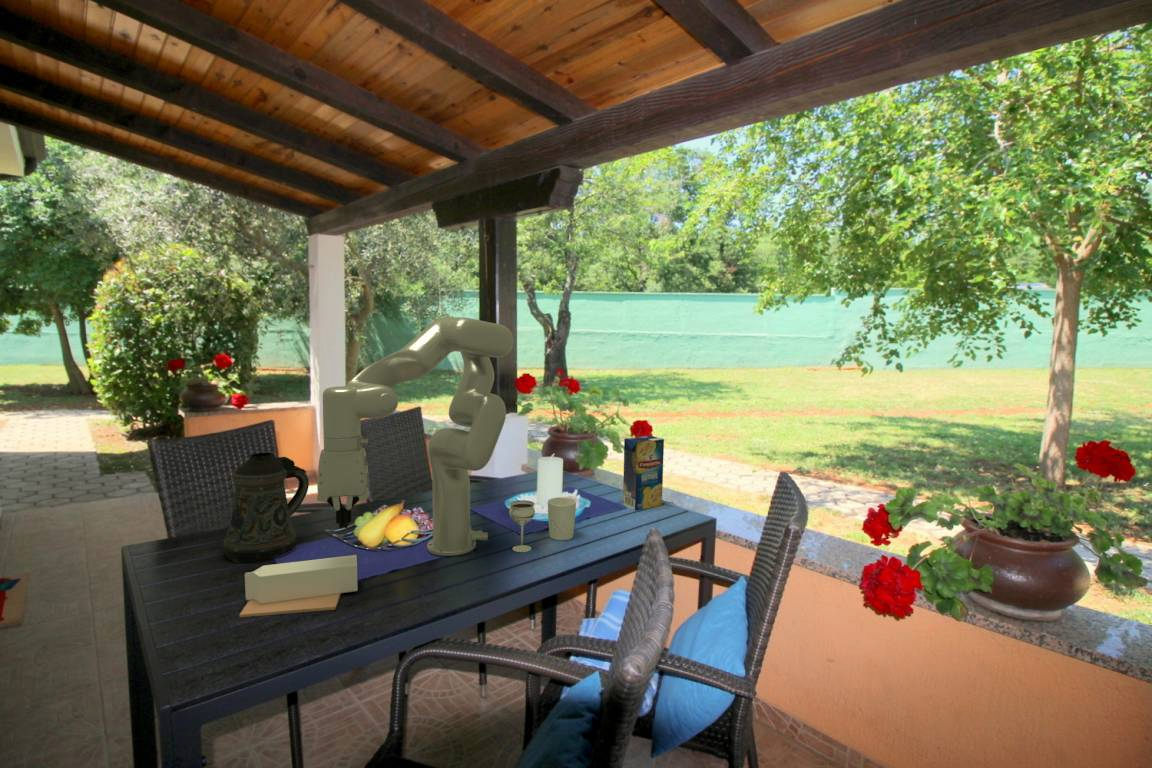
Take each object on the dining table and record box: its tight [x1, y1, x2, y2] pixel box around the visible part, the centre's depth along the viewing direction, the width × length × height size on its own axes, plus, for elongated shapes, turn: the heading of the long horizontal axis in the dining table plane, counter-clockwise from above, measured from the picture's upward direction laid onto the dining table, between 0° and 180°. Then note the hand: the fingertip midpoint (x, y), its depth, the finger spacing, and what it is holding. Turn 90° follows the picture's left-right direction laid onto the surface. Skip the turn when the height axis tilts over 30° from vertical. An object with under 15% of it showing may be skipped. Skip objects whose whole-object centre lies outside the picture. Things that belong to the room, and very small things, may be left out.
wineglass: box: [508, 499, 536, 553], centre depth 158 cm, size 7×7×12 cm
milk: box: [244, 554, 359, 604], centre depth 130 cm, size 6×6×22 cm
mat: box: [238, 593, 342, 618], centre depth 132 cm, size 18×20×1 cm
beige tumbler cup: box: [547, 496, 577, 541], centre depth 167 cm, size 8×8×10 cm
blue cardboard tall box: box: [622, 435, 665, 511], centre depth 196 cm, size 7×11×22 cm, turn 122°
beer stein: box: [223, 452, 310, 563], centre depth 155 cm, size 16×19×25 cm
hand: (344, 525), depth 132 cm, fingers closed
